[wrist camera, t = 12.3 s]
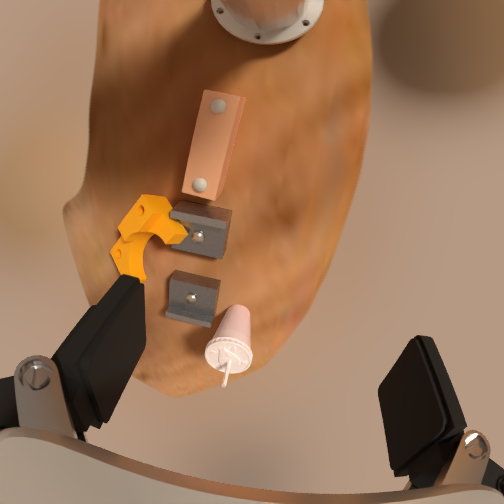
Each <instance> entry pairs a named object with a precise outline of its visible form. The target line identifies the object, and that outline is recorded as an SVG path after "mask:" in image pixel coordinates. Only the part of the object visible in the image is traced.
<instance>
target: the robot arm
mask: <svg viewBox="0 0 504 504" xmlns="http://www.w3.org/2000/svg"><path fill="white" fill-rule="evenodd" d="M211 5H212V10H213V12H214V15H215V17H216V19H217V20H218V22H219V23H220V24H221V25H222V26H223V28H224V29H226V30H227V31H228V32H229V33H230V34H232V35H234V36H235V37H237V38H239V39H241V40H244V41H247V42H249V43H255V44H260V45H274V44H282V43H286V42H289V41H292V40H295V39H297V38H299V37H301V36H302V35H304V34H305V33H307V32H308V31H309V30H310V29H311V28H312V27H313V26H314V25H315V24H316V23H317V21H318V19H319V18H320V16H321V13H322V11H323V6H324V0H211ZM221 11H223V13H222V14H220V12H221ZM304 23H307V24H308V26H304V25H303V24H304ZM257 36H260V37H261V38H260V39H256V37H257ZM145 345H146V326H145V294H144V284H143V283H140V279H139V278H137V277H134V276H130V275H126V274H122V275H121V276H120V277H119V278H118V279H117V281H116V282H115V283H114V284H113V285H112V287H111V288H110V289H109V290H108V292H107V293H106V294H105V295H104V297H103V298H102V299H101V300H100V302H99V303H98V304H97V305H93V306H91V307H90V308H89V309H88V311H87V312H86V313H85V314H84V316H83V317H82V318H81V319H80V321H79V322H78V323H77V324H76V326H75V327H74V329H73V330H72V331H71V332H70V334H69V335H68V336H67V338H66V339H65V340H64V342H63V343H62V344H61V346H60V347H59V348H58V350H57V351H56V352H55V354H54V355H53V356H52V358H51V359H49V358H48V357H45V356H41V355H39V356H38V355H36V356H31V357H27V358H26V359H24V360H22V361H21V362H20V363H19V364H18V366H17V367H16V370H15V373H14V376H11V377H6V378H2V379H0V504H504V469H503V468H502V467H500V466H499V465H498V464H496V463H495V462H494V461H492V460H491V459H490V458H489V457H490V445H489V442H488V440H487V438H486V437H485V436H484V435H483V434H482V433H480V432H478V431H476V430H470V431H467V432H466V433H464V429H465V428H466V427H467V424H466V421H465V418H464V415H463V412H462V409H461V407H460V404H459V401H458V398H457V396H456V393H455V391H454V388H453V385H452V383H451V380H450V378H449V375H448V373H447V370H446V368H445V366H444V363H443V361H442V359H441V356H440V354H439V352H438V349H437V347H436V345H435V343H434V340H433V339H432V338H431V337H428V336H420V335H417V336H416V337H414V338H413V339H411V340H410V341H409V343H408V344H407V346H406V347H405V349H404V350H403V352H402V354H401V355H400V357H399V358H398V360H397V361H396V363H395V364H394V366H393V367H392V369H391V370H390V371H389V373H388V374H387V376H386V377H385V379H384V380H383V382H382V383H381V384H380V386H379V388H378V397H379V402H380V408H381V413H382V418H383V423H384V429H385V435H386V442H387V448H388V454H389V461H390V467H391V469H392V470H394V476H395V477H401V476H407V475H409V479H410V480H409V481H408V483H407V484H406V486H405V488H404V489H403V490H402V491H393V492H380V493H363V494H313V493H311V494H310V493H294V492H283V491H272V490H264V489H256V488H249V487H242V486H236V485H230V484H224V483H219V482H214V481H209V480H205V479H200V478H196V477H192V476H188V475H183V474H180V473H176V472H172V471H169V470H165V469H162V468H158V467H155V466H152V465H149V464H145V463H142V462H139V461H136V460H133V459H130V458H127V457H124V456H121V455H118V454H116V453H113V452H110V451H108V450H105V449H103V448H100V447H97V446H94V445H92V444H89V443H88V440H87V437H86V435H85V432H86V431H87V430H88V428H89V426H90V425H91V426H93V427H96V428H98V429H100V428H101V425H102V423H103V422H104V423H107V422H108V421H109V420H110V417H111V415H112V413H113V411H114V409H115V407H116V405H117V403H118V401H119V399H120V397H121V394H122V392H123V391H124V389H125V387H126V385H127V383H128V381H129V379H130V377H131V375H132V373H133V371H134V369H135V367H136V365H137V363H138V361H139V359H140V357H141V355H142V353H143V351H144V349H145Z"/></svg>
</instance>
